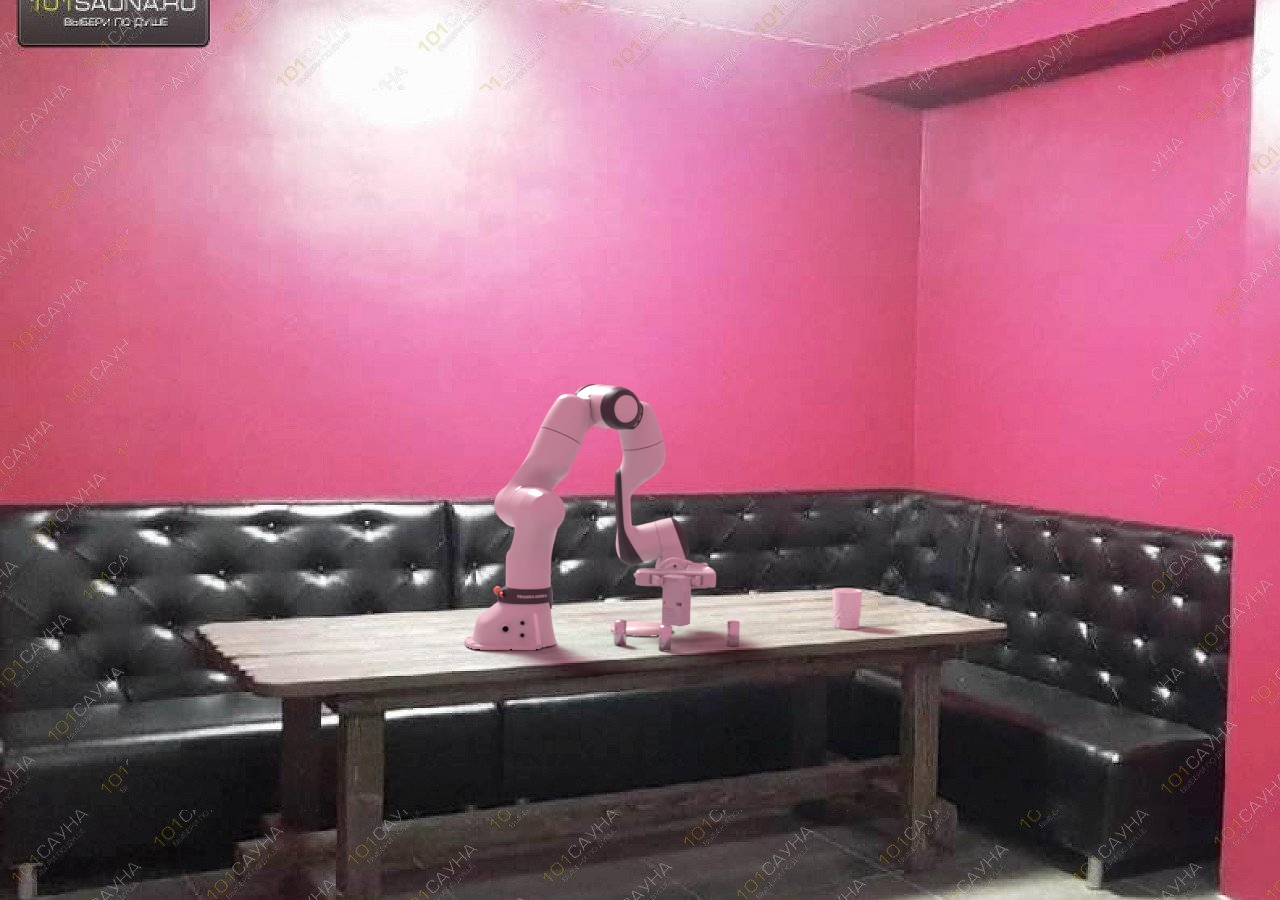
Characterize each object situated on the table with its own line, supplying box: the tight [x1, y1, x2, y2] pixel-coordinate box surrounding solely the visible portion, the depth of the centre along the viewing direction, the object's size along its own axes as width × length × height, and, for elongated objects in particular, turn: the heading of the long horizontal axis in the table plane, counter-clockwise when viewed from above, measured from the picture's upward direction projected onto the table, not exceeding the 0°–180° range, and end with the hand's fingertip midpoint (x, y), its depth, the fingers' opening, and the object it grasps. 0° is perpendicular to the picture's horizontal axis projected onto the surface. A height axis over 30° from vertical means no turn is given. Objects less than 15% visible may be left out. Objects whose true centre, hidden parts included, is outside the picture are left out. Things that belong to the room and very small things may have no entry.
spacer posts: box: [613, 619, 741, 651], centre depth 338 cm, size 30×11×6 cm, turn 104°
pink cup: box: [831, 587, 863, 630], centre depth 368 cm, size 8×8×10 cm
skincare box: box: [661, 574, 692, 627], centre depth 338 cm, size 6×4×12 cm
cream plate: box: [610, 620, 673, 636], centre depth 357 cm, size 16×16×1 cm
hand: (677, 582), depth 337 cm, fingers closed on skincare box, 7 cm apart
